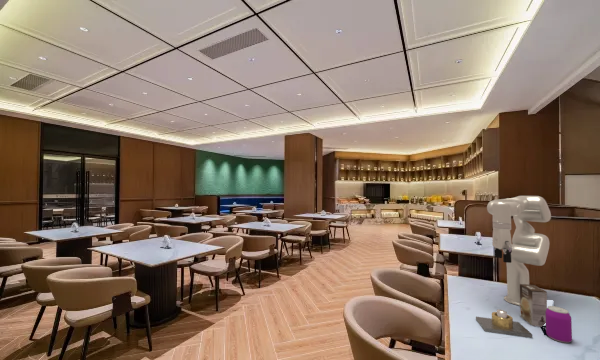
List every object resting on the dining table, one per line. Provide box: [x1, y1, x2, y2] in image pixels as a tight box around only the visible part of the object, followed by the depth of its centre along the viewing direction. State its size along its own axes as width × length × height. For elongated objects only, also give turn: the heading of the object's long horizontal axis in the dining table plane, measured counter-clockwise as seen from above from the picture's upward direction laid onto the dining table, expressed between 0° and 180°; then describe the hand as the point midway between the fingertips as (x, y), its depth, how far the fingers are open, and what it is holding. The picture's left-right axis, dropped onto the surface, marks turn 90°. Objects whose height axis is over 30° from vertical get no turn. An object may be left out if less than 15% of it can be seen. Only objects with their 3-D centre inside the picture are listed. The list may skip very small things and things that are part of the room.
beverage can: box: [545, 305, 573, 344], centre depth 109 cm, size 8×8×12 cm
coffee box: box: [519, 284, 548, 328], centre depth 123 cm, size 9×6×16 cm
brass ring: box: [491, 311, 514, 329], centre depth 116 cm, size 7×7×4 cm
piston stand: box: [475, 308, 533, 339], centre depth 116 cm, size 17×11×8 cm, turn 74°
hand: (502, 260), depth 133 cm, fingers open, 9 cm apart
